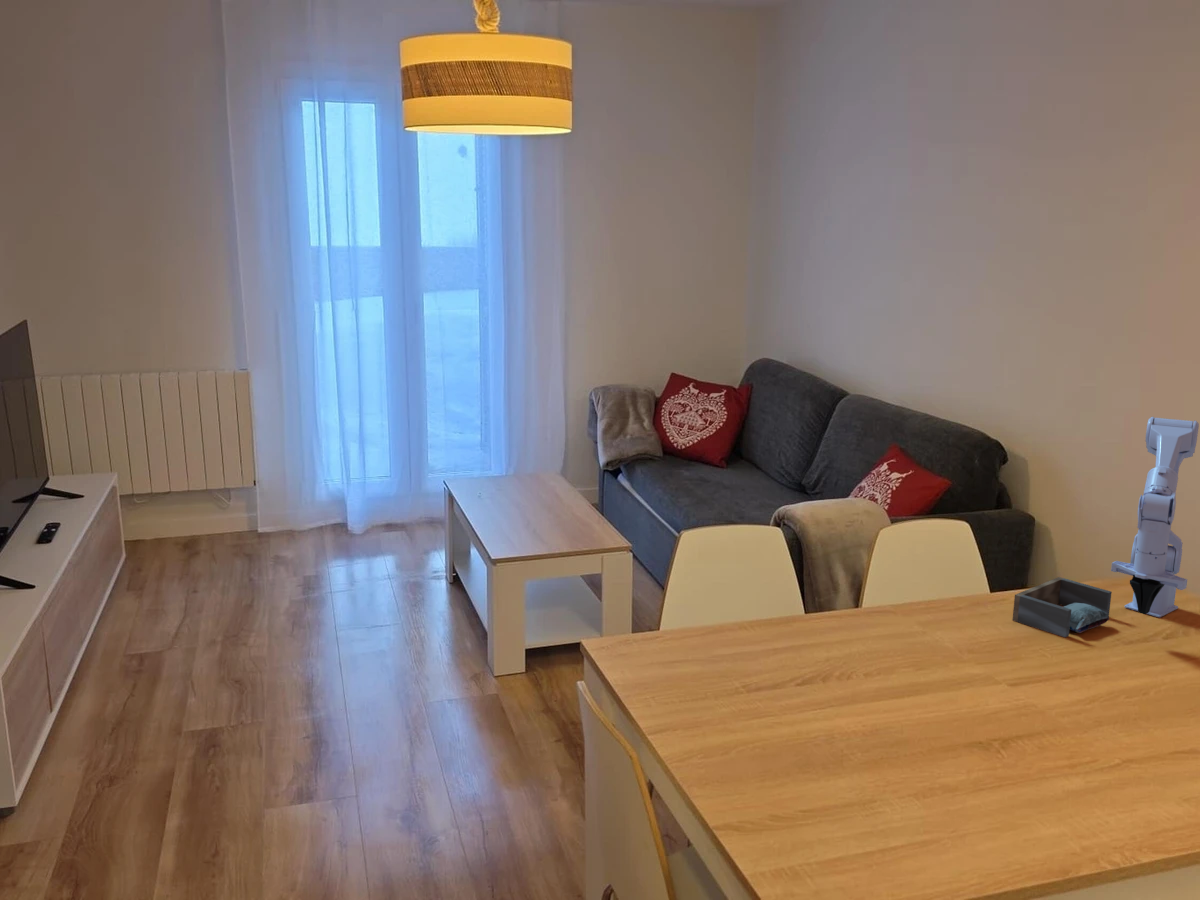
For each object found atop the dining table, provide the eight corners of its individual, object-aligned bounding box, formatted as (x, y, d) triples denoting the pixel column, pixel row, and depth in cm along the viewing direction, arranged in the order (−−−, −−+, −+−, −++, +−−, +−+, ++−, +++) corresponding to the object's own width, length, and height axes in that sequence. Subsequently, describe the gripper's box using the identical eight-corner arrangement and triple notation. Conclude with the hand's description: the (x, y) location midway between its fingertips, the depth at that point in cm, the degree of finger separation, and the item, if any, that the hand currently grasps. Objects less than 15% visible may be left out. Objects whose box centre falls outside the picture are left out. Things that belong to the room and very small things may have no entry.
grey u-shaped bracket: (1056, 601, 242) (1059, 576, 241) (1108, 617, 233) (1111, 591, 232) (1012, 620, 231) (1014, 594, 230) (1065, 637, 222) (1068, 611, 220)
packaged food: (1042, 625, 228) (1044, 604, 227) (1074, 614, 235) (1076, 594, 234) (1078, 639, 221) (1081, 617, 220) (1110, 628, 228) (1113, 606, 227)
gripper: (1106, 545, 218) (1099, 606, 221) (1179, 563, 207) (1170, 627, 210) (1123, 539, 223) (1116, 598, 226) (1194, 556, 211) (1186, 619, 215)
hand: (1143, 612), depth 218 cm, fingers closed
